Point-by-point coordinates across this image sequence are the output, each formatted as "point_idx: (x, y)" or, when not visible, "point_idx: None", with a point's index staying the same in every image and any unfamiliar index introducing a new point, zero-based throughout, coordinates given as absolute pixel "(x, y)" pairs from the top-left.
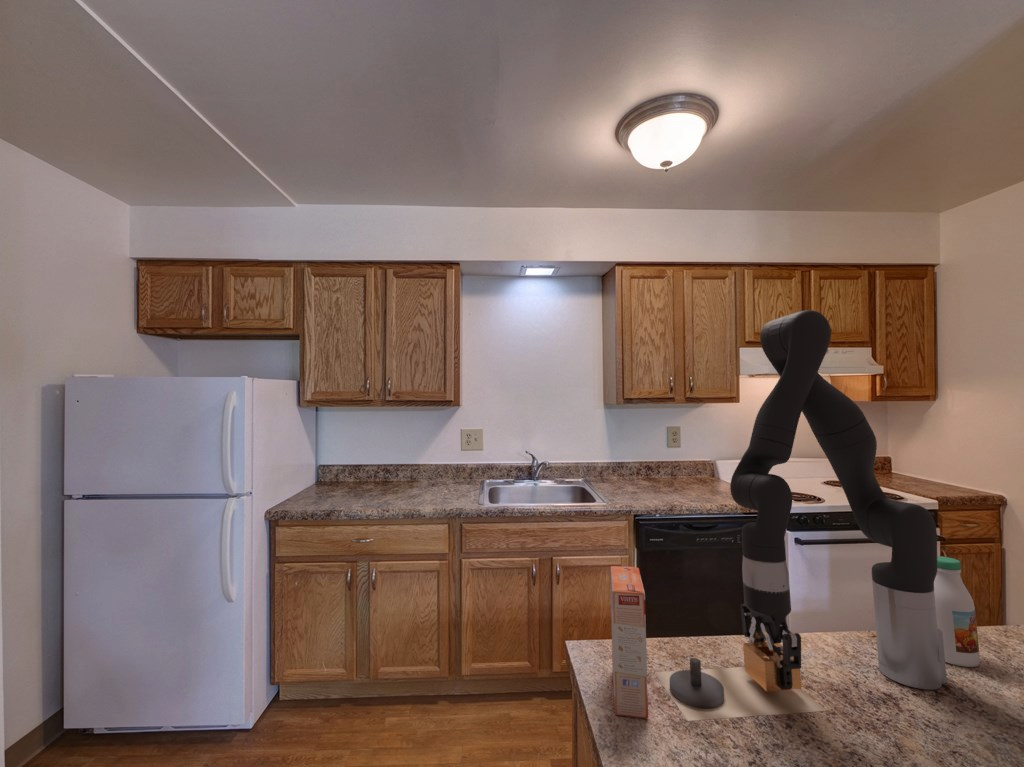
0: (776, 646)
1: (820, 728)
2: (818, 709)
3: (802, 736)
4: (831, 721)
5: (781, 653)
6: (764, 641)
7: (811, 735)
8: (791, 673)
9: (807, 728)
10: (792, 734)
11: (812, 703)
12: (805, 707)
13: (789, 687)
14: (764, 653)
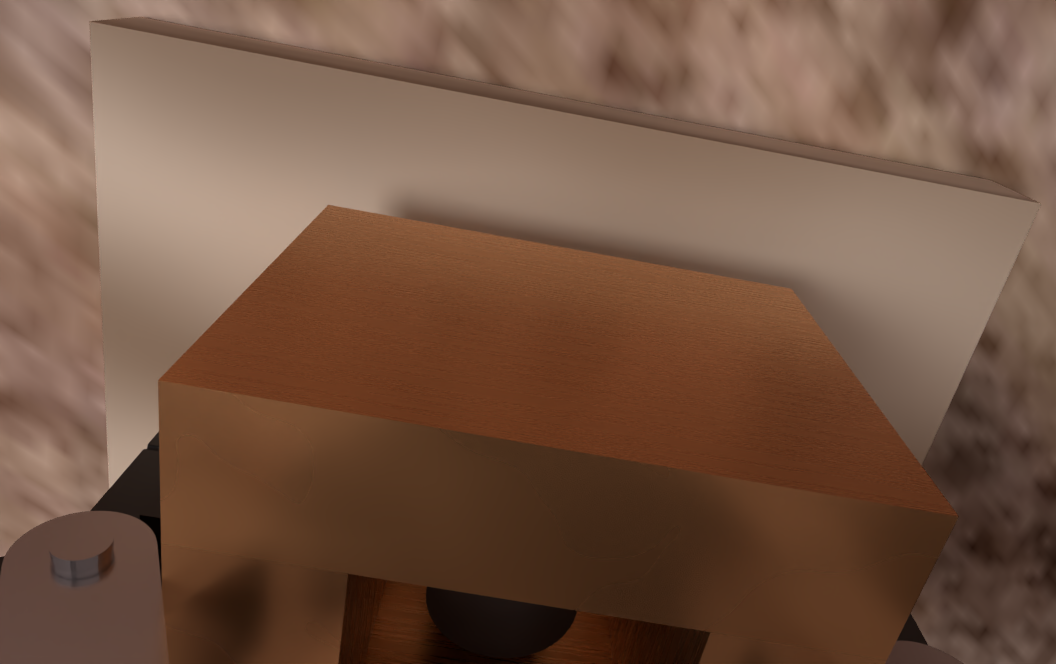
0: (383, 528)
1: (1020, 337)
2: (985, 272)
3: (999, 533)
4: (1019, 156)
5: (610, 596)
6: (162, 606)
7: (1029, 469)
8: (919, 634)
9: (963, 432)
10: (947, 576)
11: (889, 241)
12: (896, 362)
13: None
14: (359, 614)
